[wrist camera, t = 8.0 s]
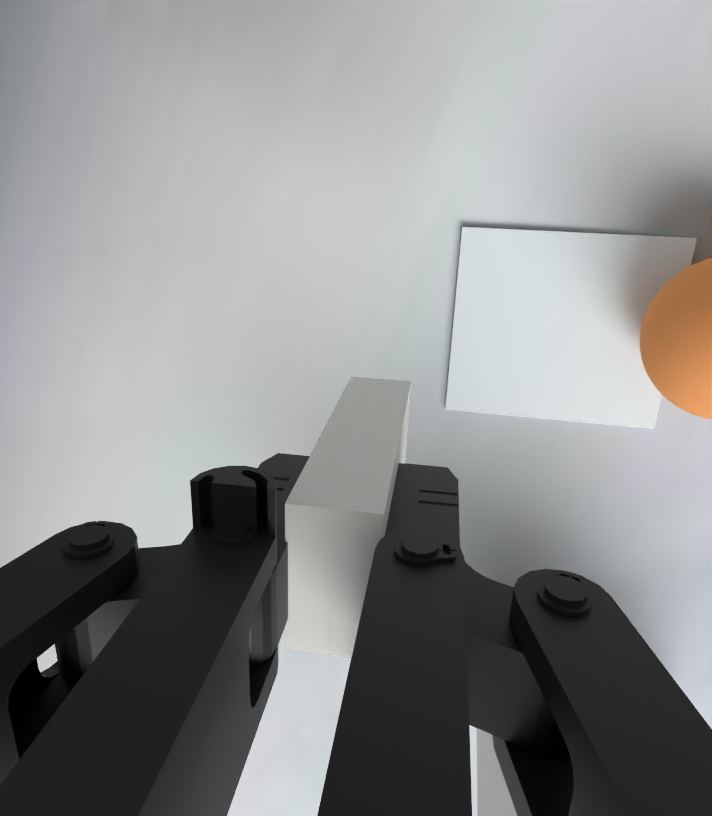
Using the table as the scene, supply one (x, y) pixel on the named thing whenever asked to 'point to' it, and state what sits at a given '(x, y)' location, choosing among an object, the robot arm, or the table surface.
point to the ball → (681, 339)
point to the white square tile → (557, 323)
